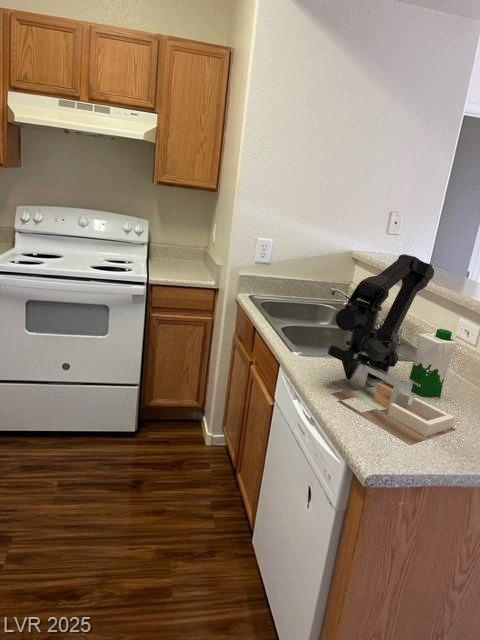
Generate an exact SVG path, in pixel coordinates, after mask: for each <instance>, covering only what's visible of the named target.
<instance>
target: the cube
mask: <svg viewBox="0 0 480 640" xmlns="http://www.w3.org/2000/svg"><path fill="white" fill-rule="evenodd" d="M376 385H377V386H376V392H375V396H374V400H373V401H375V402H377V403H378V404H380V405H382V406H384V407H386V408H388V407H389V403H390V399H391V395H392V391H393V387H394V385H393V384H391V383H389V382H387V381H383V382H378V383H377V384H376Z"/></svg>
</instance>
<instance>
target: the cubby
mask: <svg viewBox="0 0 480 640" xmlns="http://www.w3.org/2000/svg"><path fill="white" fill-rule="evenodd" d="M410 405H411V410H413V411H415V412H417V413H419V414H421V415H423V416H424V417H426V418H428V419H430V420H429V421H426V420H424V419H422V418H421V417H419V416H417V415H415V414H413V413H411V412H410V411H408V410H406V409H404V408H402V407H400V406H398V405H397V404H395V403H393V404H390V408H389V412H388V415H389V416H390V417H392V418H394V419H396V420H397V421H399V422H401V423H403V424H405V425H406V426H408V427H410V428H412V429H413V430H415V431H417V432H419V433H420V434H422V435H424V436H429V435H432V434H435V433H438V432H441V431H444V430H447V429H451V428H453V425H454V422H455V418H456V417H455V416H453V415H452V414H449V413H447V412H446V411H443V410H442V409H439V408H438V407H435V406H433V405H431V404H429V403H428V402H426V401H423V400H422V399H419V398H418V397H415V398H412V402H411V404H410Z"/></svg>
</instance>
